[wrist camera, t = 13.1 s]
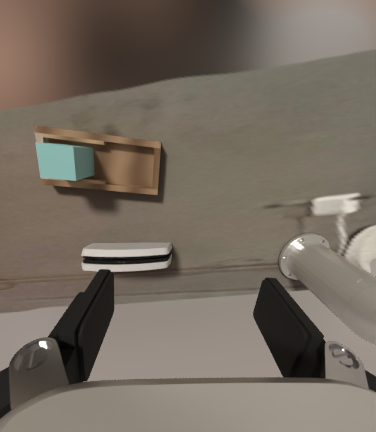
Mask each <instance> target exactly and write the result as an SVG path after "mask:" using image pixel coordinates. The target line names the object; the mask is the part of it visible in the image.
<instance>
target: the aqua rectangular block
mask: <svg viewBox="0 0 376 432" xmlns="http://www.w3.org/2000/svg"><path fill="white" fill-rule="evenodd" d="M35 143H36V150H37V157H38V164H39V171H40V178H51V179H61V180H72V181H77V180H80V179H83V178H87V177H90V176H93V175H95V173H94V152H93V148H91V147H82V146H74V145H66V144H53V143H40V142H35Z"/></svg>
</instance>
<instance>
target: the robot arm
mask: <svg viewBox="0 0 376 432" xmlns="http://www.w3.org/2000/svg"><path fill="white" fill-rule="evenodd" d="M279 267H280V270H281V271H282V273H283V274H284V275H285V276H287V277H288V278H290V279H294V280H300V281H301V282H302V283H303V284H304V285H305V286H306V287H307V288H308V289H309V290H310V291H311V292H312V293H313V294H314V295H315V296H317V298H318V299H319V300H320V301H322V303H324V304H325V305H326V306H327V307H328V308H329V309H330V310H331V311H332V312H333V313H334V314H335V315H336V316H337V317H338V318H339V319H340V320H341V321H342V322H343V323H344V324H346V326H348V327H349V328H350V329H351V330H352V331H353V332H354V333H355V334H356V335H358V336H359V337H361V338H362V339H364V340H366V341H368V342H370V343H373V344H376V276H374V275H372V274H371V273H369V272H367V271H366V270H364V269H362V268H361V267H359V266H357V265H356V264H354V263H352V262H350V261H349V260H347V259H346V258H345V257H343V256H340V255H339V254H337V253H335V252H334V251H332V250H330V246H329V243H328V241H327V240H326V239H325V238H323V237H322V236H320V235H318V234H314V233H306V234H302V235H299V236H297V237H295V238H293V239H292V240H290V241H289V242H288V243H287V244H286V245H285V247H284V248H283V250H282V251H281V253H280V256H279ZM113 312H114V273H113V272H111V271H110V270H109V269H99V271H98V272H97V274H96V275H95V277H94V278H93V280H92V281H91V283H90V284H89V286H88V288H87V289H86V291H85V292H80V293H78V295H77V296H76V297H75V299H74V300H73V301H72V303H71V304H70V306H69V307H68V309H67V310H66V312H65V313H64V314H63V316H62V318H61V319H60V320H59V322H58V323H57V325H56V326H55V327H54V329H53V330H52V332H51V333H50V335H49V336H48V337H44V338H39V339H36V340H33V341H31V342H29V343H28V344H26V345H24V346H23V347H22V348H21V349H19V350H18V351H17V352H16V354H15V355H14V356H13V358H12V359H11V361H10V364H9V367H8V368H6V369H4V370H2V371H1V372H0V432H376V377H375V376H374V375H372V374H370V373H369V372H367V371H366V370H365V369H364V366H363V364H362V361H361V360H360V359H359V357H358V356H357V355H356V354H355V353H354V352H353V351H351V350H350V349H349V348H347V347H346V346H344V345H343V344H340V343H338V342H335V341H327V342H325V341H324V339H323V338H324V335H323V334H322V333H321V332H320V331H319V329H318V328H317V327H316V326H315V325H314V323H313V322H312V321H311V320H310V319H309V318H308V316H307V315H306V314H305V313H304V312H303V310H302V309H301V308H300V307H299V305H298V304H297V303H296V302H295V301H294V300H293V298H292V297H291V296H290V295H289V293H288V292H287V291H286V290H285V289H284V287H283V286H282V285H281V284H280V283H279V281H278V280H277V279H276V278H265V280H263V281H262V284H261V287H260V291H259V294H258V298H257V301H256V305H255V308H254V313H253V316H254V319H255V321H256V323H257V325H258V327H259V329H260V331H261V333H262V335H263V337H264V339H265V341H266V343H267V345H268V347H269V349H270V351H271V353H272V355H273V357H274V359H275V362H276V363H277V366H278V368H279V370H280V371H281V374H282V375H283V378H280V377H277V378H174V379H129V380H102V381H90V382H83V381H87V380H88V378H89V376H90V373H91V370H92V368H93V365H94V362H95V360H96V357H97V355H98V352H99V350H100V347H101V344H102V342H103V339H104V337H105V334H106V331H107V329H108V326H109V323H110V321H111V318H112V315H113Z"/></svg>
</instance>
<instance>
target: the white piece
mask: <svg viewBox="0 0 376 432" xmlns="http://www.w3.org/2000/svg"><path fill="white" fill-rule="evenodd" d="M171 249H172V244H171V242H170V243H92V244H90V245H88V246H86V247H85V248H83V251H82V256H83V258H85V259H84V260H83V262H82V268H83V270H87V271H99V269H109V270H110V271H111V272H123V271H142V270H153V269H162V268H167V267H168V265H169V264H170V263H171V258H172V254H171V252H170V251H171Z"/></svg>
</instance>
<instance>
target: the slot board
mask: <svg viewBox="0 0 376 432" xmlns="http://www.w3.org/2000/svg"><path fill="white" fill-rule="evenodd" d="M34 129H35V137H36V142H40V143H53V144H66V145H74V146H82V147H91V148H93V152H94V173H95V175H93V176H90V177H87V178H83V179H80V180H77V181H72V180H61V179H51V178H41V179H42V185H53V186H64V187H75V188H86V189H97V190H108V191H119V192H130V193H141V194H151V195H158V184H159V170H160V155H161V142H156V141H148V140H141V139H134V138H126V137H119V136H111V135H104V134H96V133H89V132H81V131H74V130H67V129H59V128H52V127H44V126H37V125H34Z"/></svg>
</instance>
